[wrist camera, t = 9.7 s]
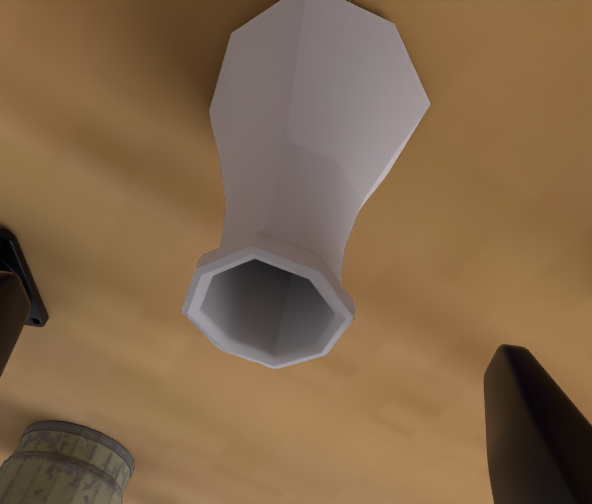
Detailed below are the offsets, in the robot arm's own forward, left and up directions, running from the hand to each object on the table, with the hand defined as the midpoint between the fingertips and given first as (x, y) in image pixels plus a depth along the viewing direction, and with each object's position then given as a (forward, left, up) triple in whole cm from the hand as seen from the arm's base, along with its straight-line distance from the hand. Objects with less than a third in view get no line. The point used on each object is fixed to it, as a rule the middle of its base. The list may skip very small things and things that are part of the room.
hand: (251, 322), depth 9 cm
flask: (0, 0, -10) cm, 10 cm away
